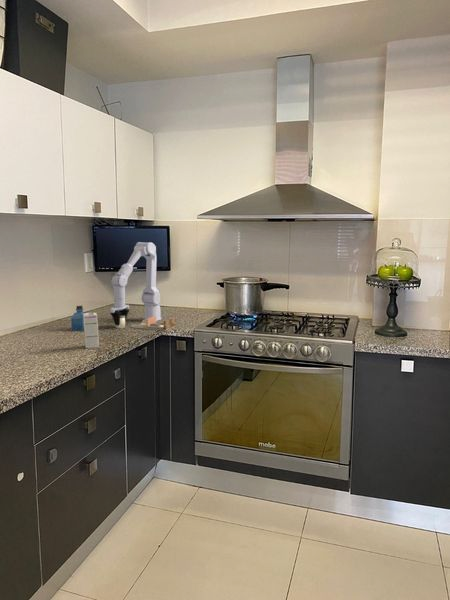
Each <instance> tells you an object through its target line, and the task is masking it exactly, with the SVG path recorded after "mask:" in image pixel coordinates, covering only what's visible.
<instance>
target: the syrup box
mask: <svg viewBox="0 0 450 600" xmlns="http://www.w3.org/2000/svg"><path fill="white" fill-rule="evenodd" d="M83 321H84V331H83V335H84V336H83V337H84V347H85V349H94V348H100V343H99V341H100V340H99V338H100V337H99V324H98V314H97V312H86V313H83Z"/></svg>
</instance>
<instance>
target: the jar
mask: <svg viewBox="0 0 450 600" xmlns="http://www.w3.org/2000/svg"><path fill="white" fill-rule="evenodd" d="M114 325H115V324H114ZM115 328H116V329H124V328H126V322H125V315H121V316H120V324H119V325H115Z"/></svg>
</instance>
